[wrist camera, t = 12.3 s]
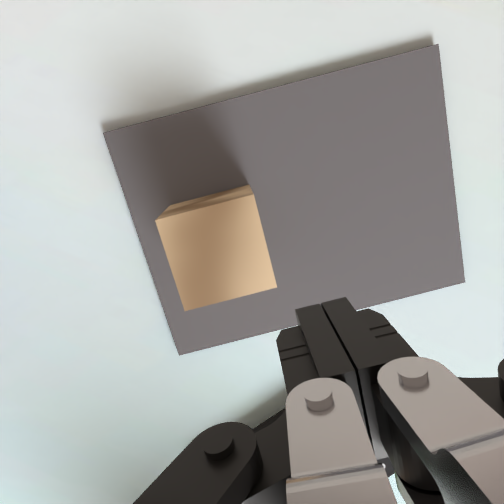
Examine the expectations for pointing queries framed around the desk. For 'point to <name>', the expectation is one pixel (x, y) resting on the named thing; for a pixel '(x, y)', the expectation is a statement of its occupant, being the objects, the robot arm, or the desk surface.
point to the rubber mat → (308, 191)
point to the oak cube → (216, 247)
